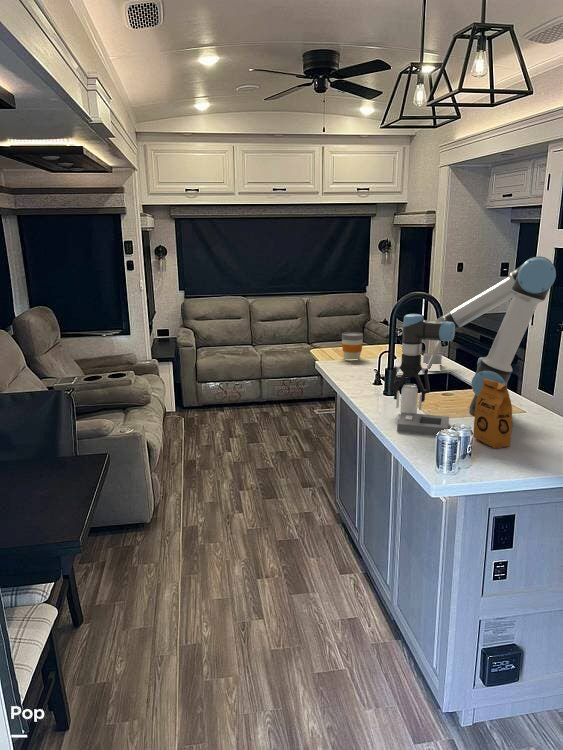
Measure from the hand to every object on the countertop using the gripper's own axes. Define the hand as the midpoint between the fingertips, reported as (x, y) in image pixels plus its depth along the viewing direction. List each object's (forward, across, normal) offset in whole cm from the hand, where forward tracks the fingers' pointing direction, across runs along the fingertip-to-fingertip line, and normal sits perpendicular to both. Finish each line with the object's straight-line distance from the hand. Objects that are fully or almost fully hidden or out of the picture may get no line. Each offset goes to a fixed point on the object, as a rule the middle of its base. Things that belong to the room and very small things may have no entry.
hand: (408, 408), depth 226 cm
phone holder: (+3, -4, -84) cm, 84 cm away
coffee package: (+3, -31, +24) cm, 39 cm away
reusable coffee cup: (+3, +42, -94) cm, 103 cm away
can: (+3, 0, 0) cm, 3 cm away
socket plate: (+3, -7, +15) cm, 17 cm away
